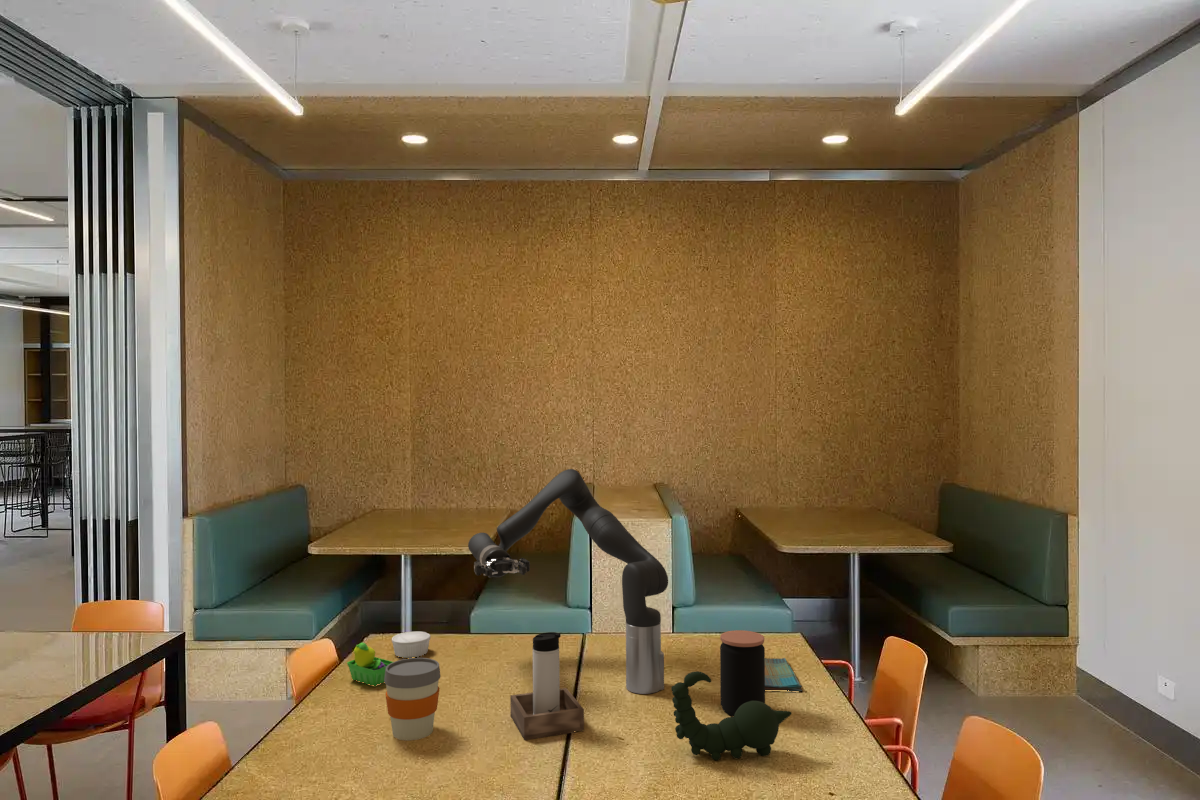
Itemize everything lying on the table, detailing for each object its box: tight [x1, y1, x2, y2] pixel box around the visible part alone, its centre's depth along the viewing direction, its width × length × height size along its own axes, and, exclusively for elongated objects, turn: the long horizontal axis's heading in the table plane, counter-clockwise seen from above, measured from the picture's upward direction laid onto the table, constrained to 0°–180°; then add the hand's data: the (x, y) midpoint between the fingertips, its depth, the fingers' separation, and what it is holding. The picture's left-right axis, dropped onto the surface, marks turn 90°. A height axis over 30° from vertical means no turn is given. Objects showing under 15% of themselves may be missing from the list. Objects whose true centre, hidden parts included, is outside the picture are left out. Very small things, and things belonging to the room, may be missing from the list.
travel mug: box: [532, 631, 562, 714], centre depth 181 cm, size 6×7×20 cm
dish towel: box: [765, 657, 803, 691], centre depth 211 cm, size 17×23×3 cm
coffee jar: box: [719, 629, 766, 717], centre depth 188 cm, size 11×11×18 cm
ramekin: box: [391, 631, 431, 659], centre depth 232 cm, size 11×11×5 cm
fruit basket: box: [346, 642, 394, 687], centre depth 209 cm, size 11×9×11 cm
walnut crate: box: [509, 687, 585, 741], centre depth 181 cm, size 14×14×5 cm
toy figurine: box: [670, 670, 793, 761], centre depth 164 cm, size 9×19×25 cm
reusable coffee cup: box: [384, 657, 441, 741], centre depth 177 cm, size 13×13×15 cm
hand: (507, 572), depth 198 cm, fingers open, 8 cm apart
